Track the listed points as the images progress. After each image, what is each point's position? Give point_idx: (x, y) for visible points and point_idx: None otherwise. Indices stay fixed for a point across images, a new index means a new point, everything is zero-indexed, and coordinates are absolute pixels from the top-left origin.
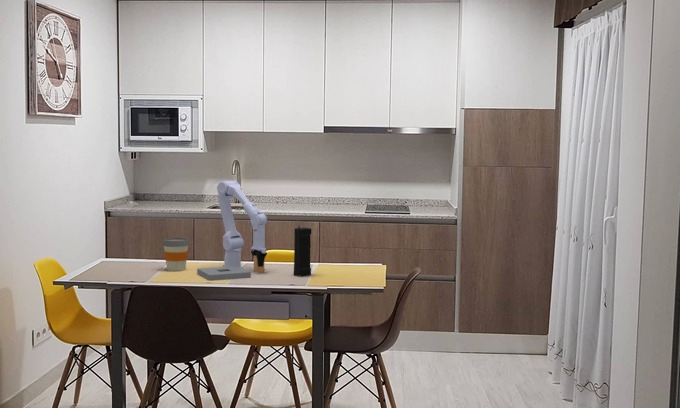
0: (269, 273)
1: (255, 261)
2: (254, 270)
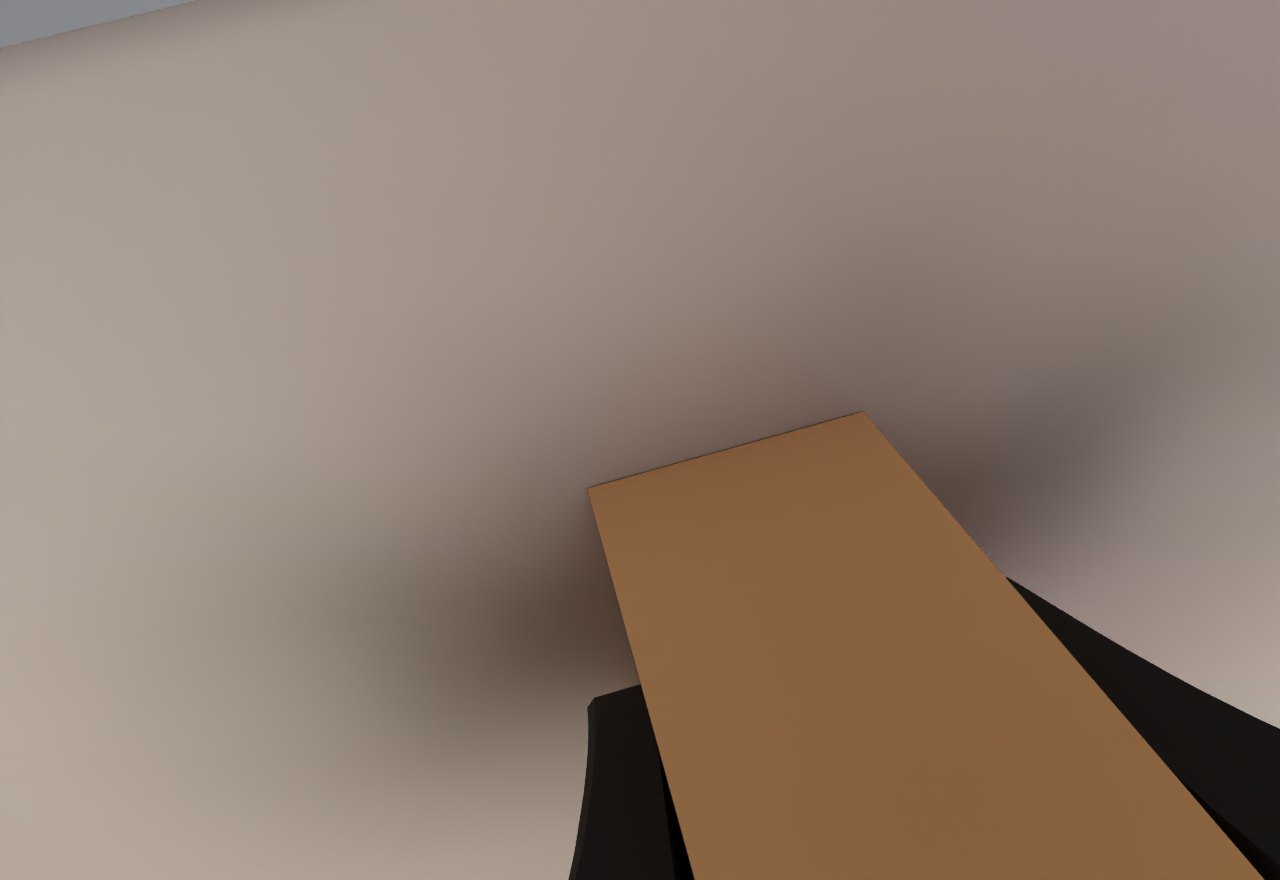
0: (400, 821)
1: (829, 728)
2: (806, 453)
